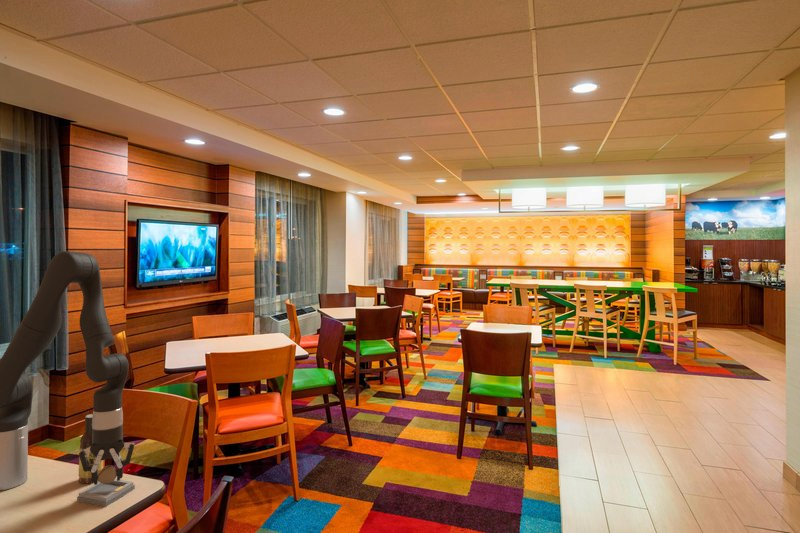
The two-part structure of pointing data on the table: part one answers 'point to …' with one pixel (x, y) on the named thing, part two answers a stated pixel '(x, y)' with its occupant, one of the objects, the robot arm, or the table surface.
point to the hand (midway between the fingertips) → (107, 481)
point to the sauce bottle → (84, 444)
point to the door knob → (107, 474)
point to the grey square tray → (105, 492)
